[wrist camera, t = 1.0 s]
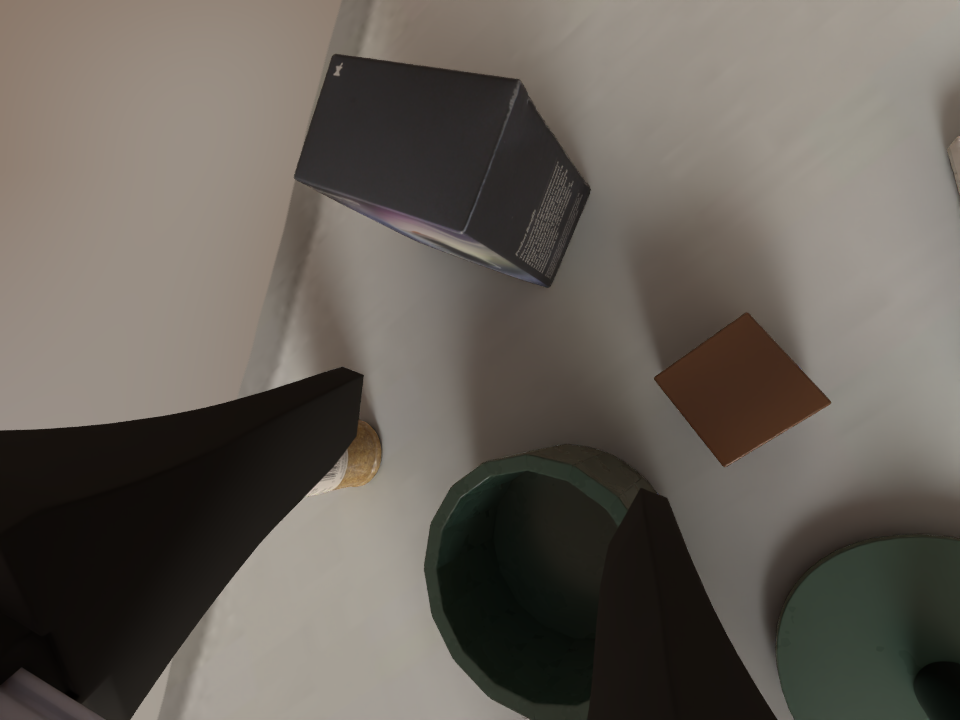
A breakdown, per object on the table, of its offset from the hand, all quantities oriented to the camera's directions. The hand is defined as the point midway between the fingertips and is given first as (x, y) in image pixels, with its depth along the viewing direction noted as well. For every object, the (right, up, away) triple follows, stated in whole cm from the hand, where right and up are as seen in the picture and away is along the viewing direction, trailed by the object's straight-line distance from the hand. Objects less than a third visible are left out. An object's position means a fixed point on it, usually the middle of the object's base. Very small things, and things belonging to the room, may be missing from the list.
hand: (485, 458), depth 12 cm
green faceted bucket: (+5, -7, +14) cm, 16 cm away
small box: (+1, +11, +18) cm, 21 cm away
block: (+12, +1, +11) cm, 16 cm away
